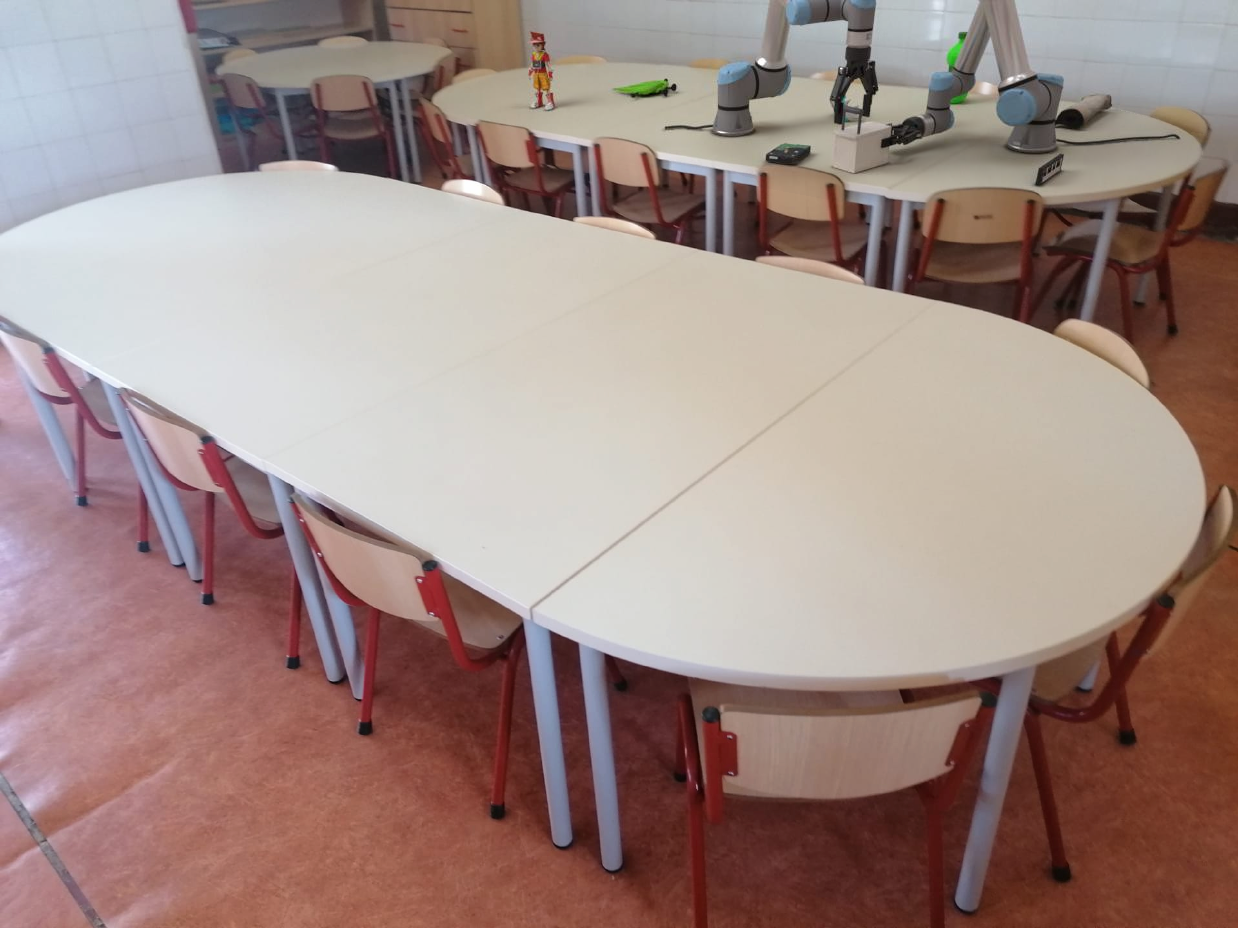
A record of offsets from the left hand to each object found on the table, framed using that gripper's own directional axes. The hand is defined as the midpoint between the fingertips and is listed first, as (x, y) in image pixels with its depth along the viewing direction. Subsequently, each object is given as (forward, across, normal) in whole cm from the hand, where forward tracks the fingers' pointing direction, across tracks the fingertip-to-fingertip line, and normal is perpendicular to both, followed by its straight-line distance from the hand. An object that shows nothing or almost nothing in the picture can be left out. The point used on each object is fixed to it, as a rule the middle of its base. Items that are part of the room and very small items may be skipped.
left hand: (851, 120), depth 284 cm
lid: (+5, +5, 0) cm, 7 cm away
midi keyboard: (+15, +36, -48) cm, 62 cm away
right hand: (+8, +10, 0) cm, 13 cm away
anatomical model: (+15, +46, +46) cm, 67 cm away
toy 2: (+15, +17, +140) cm, 142 cm away
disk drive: (+15, -6, +22) cm, 27 cm away
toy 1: (+15, -29, +148) cm, 152 cm away
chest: (+15, +6, 0) cm, 16 cm away
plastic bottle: (+15, +92, +32) cm, 99 cm away
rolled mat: (+15, +102, -17) cm, 105 cm away
